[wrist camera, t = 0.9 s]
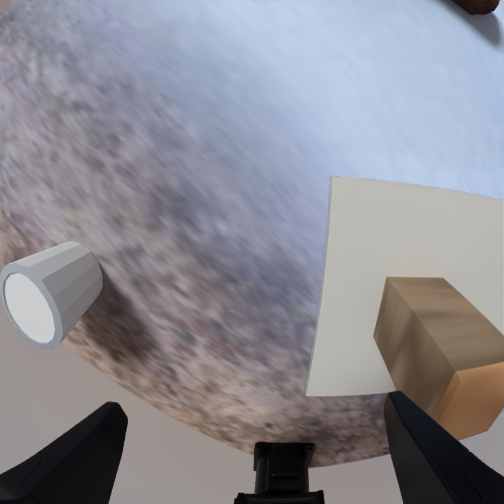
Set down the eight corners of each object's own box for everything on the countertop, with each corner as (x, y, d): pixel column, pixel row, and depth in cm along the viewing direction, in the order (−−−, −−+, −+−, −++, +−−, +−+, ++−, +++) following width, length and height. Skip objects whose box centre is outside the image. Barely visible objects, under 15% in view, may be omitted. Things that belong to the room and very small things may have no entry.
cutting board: (502, 366, 23) (506, 371, 22) (305, 388, 24) (305, 396, 23) (550, 211, 17) (557, 213, 16) (329, 175, 18) (332, 176, 18)
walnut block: (426, 333, 21) (487, 430, 10) (372, 336, 21) (419, 450, 10) (442, 277, 19) (528, 363, 9) (386, 276, 19) (461, 380, 9)
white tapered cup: (115, 312, 23) (73, 359, 17) (58, 303, 24) (14, 340, 17) (102, 234, 21) (46, 266, 15) (44, 234, 22) (-11, 260, 15)
